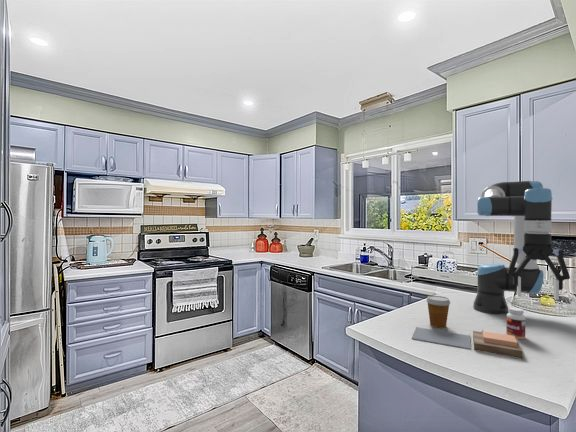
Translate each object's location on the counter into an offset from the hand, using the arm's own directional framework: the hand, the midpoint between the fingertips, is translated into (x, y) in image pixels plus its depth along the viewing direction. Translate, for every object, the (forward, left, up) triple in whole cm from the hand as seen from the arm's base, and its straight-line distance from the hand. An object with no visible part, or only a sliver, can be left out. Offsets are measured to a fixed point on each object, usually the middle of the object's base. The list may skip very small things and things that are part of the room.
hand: (537, 297), depth 112 cm
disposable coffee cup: (-15, -32, -20) cm, 41 cm away
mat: (0, -30, -20) cm, 36 cm away
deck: (0, -12, -20) cm, 23 cm away
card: (0, -11, -17) cm, 20 cm away
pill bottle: (-16, -4, -20) cm, 26 cm away
